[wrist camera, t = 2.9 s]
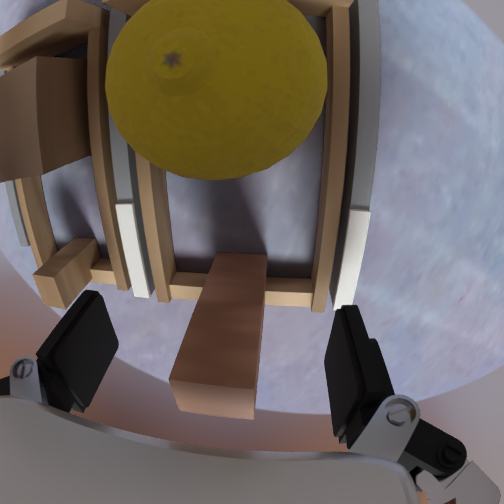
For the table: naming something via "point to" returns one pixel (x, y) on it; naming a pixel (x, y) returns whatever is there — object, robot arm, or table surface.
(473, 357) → the table surface
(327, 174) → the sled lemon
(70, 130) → the walnut cube
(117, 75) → the lemon
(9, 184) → the rail right
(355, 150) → the lane rails
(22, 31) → the cube
